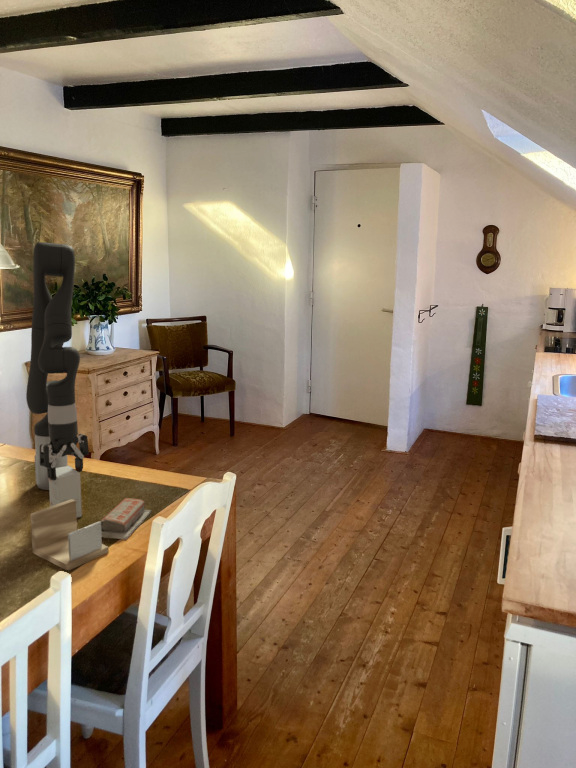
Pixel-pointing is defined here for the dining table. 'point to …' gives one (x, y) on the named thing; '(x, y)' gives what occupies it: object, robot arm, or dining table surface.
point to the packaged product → (124, 519)
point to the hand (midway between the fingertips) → (66, 475)
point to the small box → (66, 488)
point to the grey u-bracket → (58, 535)
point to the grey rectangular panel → (84, 541)
